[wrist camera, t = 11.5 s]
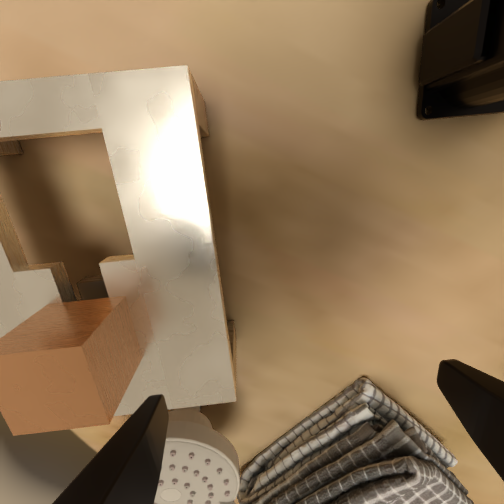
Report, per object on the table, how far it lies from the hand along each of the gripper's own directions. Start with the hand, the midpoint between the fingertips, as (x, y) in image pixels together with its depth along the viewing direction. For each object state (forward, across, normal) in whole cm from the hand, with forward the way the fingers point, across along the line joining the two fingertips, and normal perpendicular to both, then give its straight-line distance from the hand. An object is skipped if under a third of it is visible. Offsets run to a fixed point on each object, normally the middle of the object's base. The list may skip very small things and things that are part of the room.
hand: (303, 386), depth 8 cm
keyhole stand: (+12, +10, -2) cm, 16 cm away
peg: (+10, +10, +1) cm, 14 cm away
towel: (+12, -6, +24) cm, 27 cm away
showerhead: (+12, +8, +14) cm, 20 cm away
